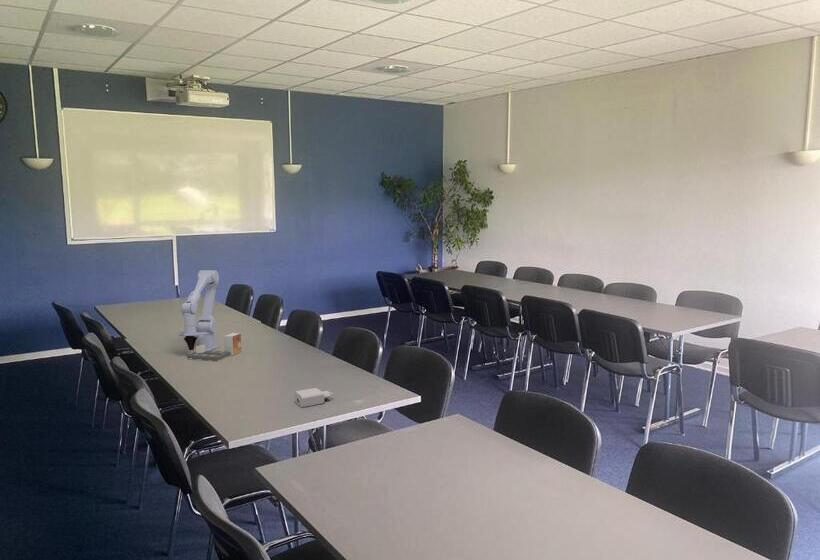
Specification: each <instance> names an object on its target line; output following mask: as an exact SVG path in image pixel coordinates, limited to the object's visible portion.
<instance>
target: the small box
mask: <svg viewBox="0 0 820 560" xmlns="http://www.w3.org/2000/svg"><path fill="white" fill-rule="evenodd" d="M241 334H242V333H238V332H237V333H236V332H231V333H229V334H226V335H223V349H224V350H223V351H227V352H230V356H235V355H238V354H240V352H241V353H242V335H241Z"/></svg>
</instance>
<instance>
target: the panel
mask: <svg viewBox="0 0 820 560" xmlns="http://www.w3.org/2000/svg"><path fill="white" fill-rule="evenodd" d="M205 351H206V352H203V353H196V351H194V352H192V353H189V354H187V355H186V359H187V358H192V359H191V360H195V359H202V360H201V361H208V360H212V361H211V362H219V361H221V360H223V359H225V357H226V358H228V357H230V356H231V355H230V352H227V351H224V350H214V349H212V350H205ZM218 360H219V361H218Z"/></svg>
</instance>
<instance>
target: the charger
mask: <svg viewBox="0 0 820 560" xmlns="http://www.w3.org/2000/svg"><path fill="white" fill-rule="evenodd" d="M334 393H335V392H334ZM334 393H333V392H332V391H328V390H324V391H322V390H320V389H319V388H316V387H313V388H308V389H307V388H306V389H302V390H301V389H300V390H295V391H294V402H295V403H296V404H297V405H298V406H300V407H301V408H307V407H311V406H312V407H313V406H317V405H322V404H323V405H324V403H325V399H328V398H331V396H332V395H334Z"/></svg>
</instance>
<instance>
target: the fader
mask: <svg viewBox="0 0 820 560" xmlns="http://www.w3.org/2000/svg"><path fill="white" fill-rule="evenodd" d="M195 352H196V353H203V352H206V351H205V345H203V344H202V345H200V344H199V345H195Z"/></svg>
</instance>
